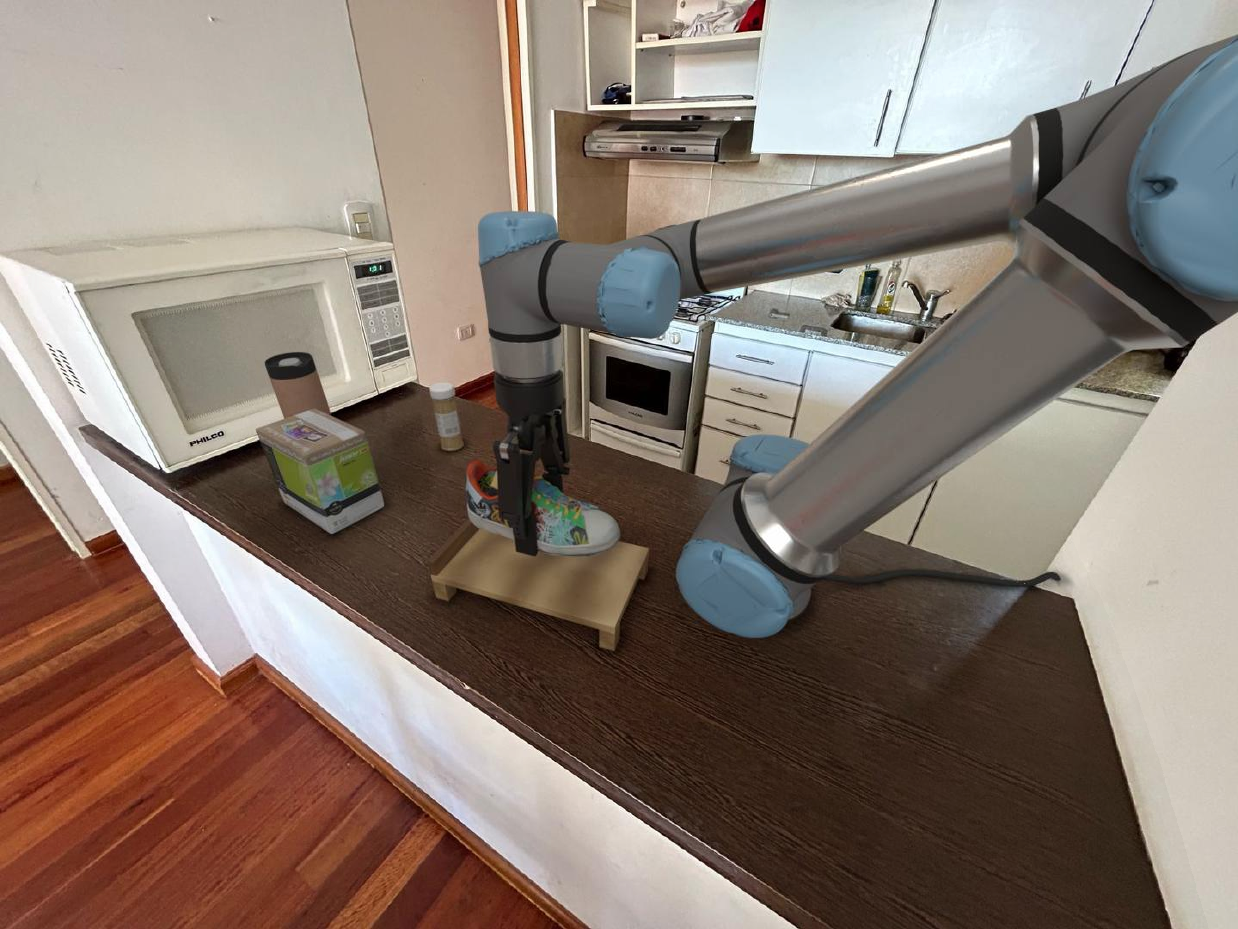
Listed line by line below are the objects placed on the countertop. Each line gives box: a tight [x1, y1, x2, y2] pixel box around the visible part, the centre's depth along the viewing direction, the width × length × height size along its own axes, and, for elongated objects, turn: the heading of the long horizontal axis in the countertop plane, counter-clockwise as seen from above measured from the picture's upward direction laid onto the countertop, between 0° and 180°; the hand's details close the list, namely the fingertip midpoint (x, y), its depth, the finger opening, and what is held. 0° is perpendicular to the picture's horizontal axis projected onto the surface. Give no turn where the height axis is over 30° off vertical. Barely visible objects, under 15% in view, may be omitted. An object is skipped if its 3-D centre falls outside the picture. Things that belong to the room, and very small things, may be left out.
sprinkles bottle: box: [428, 381, 464, 452], centre depth 101 cm, size 5×5×13 cm
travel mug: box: [264, 351, 333, 419], centre depth 96 cm, size 8×8×20 cm
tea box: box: [255, 409, 385, 535], centre depth 83 cm, size 15×10×15 cm
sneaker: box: [465, 459, 621, 557], centre depth 65 cm, size 8×21×10 cm, turn 71°
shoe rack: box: [426, 517, 650, 652], centre depth 71 cm, size 26×15×7 cm, turn 71°
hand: (541, 532), depth 68 cm, fingers closed on sneaker, 7 cm apart
